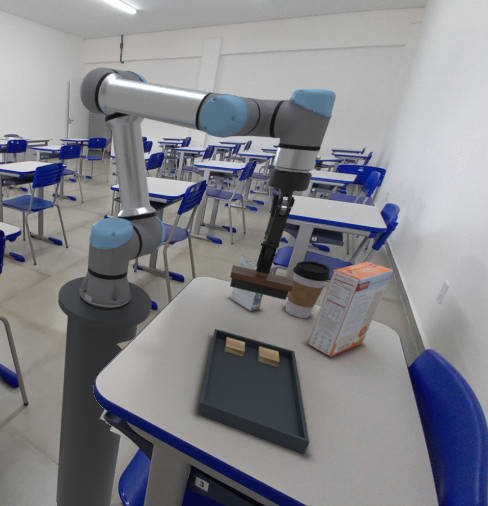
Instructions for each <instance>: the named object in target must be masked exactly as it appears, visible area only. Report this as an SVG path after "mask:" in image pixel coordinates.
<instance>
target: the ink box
mask: <svg viewBox="0 0 488 506" xmlns="http://www.w3.org/2000/svg"><path fill="white" fill-rule="evenodd" d="M257 262H258V261H255V260H254V259H251V258H249V257H247V256H245V255H243V254H242V255H241V257H240V260H239V264H238V266H239V267H244V268H249V269H253V270H256V269H257V267H256V265H257ZM250 263H252V264H253V265H252V264H250ZM254 265H255V266H254ZM263 296H264V295H263V294H259V293H255V292H251V291H247V290H242V289H238V288H234V287H232V290H231V294H230V299H231V300H232V301H233V302H235V303H237V304H238V305H240V306H241V307H243V308H245V309H246V310H248V311H249V312H252V311H258V310H260V306H261V303H262V300H263Z"/></svg>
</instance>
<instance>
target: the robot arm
mask: <svg viewBox="0 0 488 506" xmlns="http://www.w3.org/2000/svg"><path fill="white" fill-rule="evenodd" d="M336 95H337V94H336V93H335V91H333V90H330V89H320V88H319V89H318V88H308V89H307V88H305V89H301V88H300V89H299V88H298V89H295V90H294V91H293V92H292V95H291V97H290V98H289V99H281V100H280V99H279V100H278V99H259V98H252V97H243V96H238V95H235V94H229V93H218V92H211V91H205V90H199V89H193V88H184V87H180V86H172V85H166V84H159V83H153V82H148V81H147V80H146V78H145V77H144V76H142V75H141V74H139V73H137V72H134V71H131V70H121V69H114V68H109V67H96V68H92V69H91V70H90V71H88V72H87V73H86V74H85V75H84V77H83V78H82V80H81V83H80V86H79V97H80V101H81V104H82V105H83V107H85V109H86V110H88V111H89V112H91V113H94V114H98V115H103V117H104V124H105V126H106V127H108V128H109V129H110V130H111V136H112V137H111V138H112V144H113V145H112V146H113V152H114V153H113V154H114V160H115V168H116V176H117V183H118V184H117V185H118V191H119V200H120V208H121V209H120V211H119V212H118V214H117V217H112V218H110V217H107V218H102V219H100V220H97V221H95V222H94V224H93V225H92V226H91V230H90V235H89V239H88V240H89V246H88V257H87V260H88V261H87V272H86V274H85V276H84V277H85V278H84V280H83V283H82V285H81V288H80V298H81V299H82V301H83V302H85V303H86V304H88V305H90V306H92V307H95V308H99V309H108V310H112V309H119V308H122V307H125V306H126V305H128V304H129V302H130V297H131V293H130V288H129V283H128V282H129V279H128V271H129V265H130V264H129V263H130V262H131V261H133V260H135V259H138V258H141V257H144V256H148V255H151V254H152V253H154V252H155V251H157V250H159V249H160V248H161V247H162V246H163V244H164V242H165V240H166V233H167V232H166V227H165V224H164V222H163V221H162V220H161V218H160V217H158V216H157V210H156V209H155V208H154V207H153V206H152V205H151V203H150V194H149V186H148V177H147V167H146V158H145V151H144V142H143V141H144V140H143V133H142V122H143V121H144V120H145V119H146V120H151V121H155V122H160V123H165V124H168V125H173V126H177V127H182V128H187V129H191V130H195V131H201V132H203V133H206V134H207V135H209V136H213V137H215V138H221V139H222V138H230V137H231V138H232V137H258V138H259V137H260V138H272V139H279V143H278V145H277V148H276V152H275V155H274V158H273V163H272V166H273V167H274V168H273V169H271V171H270V174H269V178H268V182H267V184H268V186H269V187H271V188H273V189H278V191H277V193H274V194H273V196H272V200H271V202H272V203H271V207H270V210H269V212H270V214H269V215H270V216H269V218H268V223H267V226H266V230H265V231H264V237H263V241H262V242H261V243H260V246H261V249H260V251H259V256H258V258H257V261H256V262H257V265H255V267H257V269H256V272H261V273H265V274H269V273H270V272H271V270H272V266H273V262H274V260H275V256H276V252H277V249H279V247H280V243H281V240H282V236H283V233H284V231H285V228H286V224H287V221H288V219H289V217H290V213H291V212H292V208H293V207H294V205H295V201H296V199H295V196H293V193H294V192H305V191H307V190H308V189H309V187H310V183H311V180H312V176H313V174H312V172H311V171H314V169H315V167H316V163H317V162H316V161H320V160H321V159H322V156H321V155H319V153H320V151H321V147H322V144H323V141H324V138H325V135H326V132H327V129H328V127H329V124H330V121H331V118H332V116H333V115H332V113H333V110H334V106H335V102H336V98H337V96H336ZM266 236H267V238H266ZM265 240H266V241H265Z"/></svg>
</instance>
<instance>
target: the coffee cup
mask: <svg viewBox="0 0 488 506" xmlns="http://www.w3.org/2000/svg"><path fill="white" fill-rule="evenodd" d="M292 271H293V276H292V277H291V278H292V282H293V289H292V292H289V291H288V294H287V299H286V300H287V301H286V304H285V312H286V313H288V314H289V315H291V316H293V317H296V318H298V319H299V318H300V319H307V318H309V317H310V315H311V313H312V311H313V309H314V307H315V305H316V303H317V302H318V299H319V298H320V295H321V294H322V291H323V290H324V288H325V284H326V282H327V281H329V278H330V271H331V268H330V267H329V266H327V265H325V264H324V263H321V262H318V261H312V260H311V261H310V260H306V261H305V260H303V261H299V262H297V263H296V265H295V266H294V267H293V269H292Z"/></svg>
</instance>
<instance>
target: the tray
mask: <svg viewBox="0 0 488 506" xmlns="http://www.w3.org/2000/svg"><path fill="white" fill-rule="evenodd" d="M227 337H228V338H232V339H235V340H239V341H242V342H245V352H244V355H243V357H242V356H239V355H236V354H232V353H229V352H226V351H225V342H226V338H227ZM259 346H260V347H264V348H267V349H271V350H274V351H278V353H279V361H280V362H279V365H278V367H276V366H272V365H269V364H266V363H262V362H259V361H258V348H259ZM200 393H201V394H200V399H199V405H198V410H197V414H198V415H199V416H203V417H206V418H208V419H211V420H213V421H216V422H219V423H221V424H223V425H227V426H229V427H232V428H234V429H236V430H240V431H241V432H245V433H247V434H250V435H253V436H255V437H258V438H260V439H262V440H263V439H264V440H266V441H269V442H272V443H273V444H276V445H278V446H282V447H283V448H287V449H288V450H289V449H290V450H292V451H295V452H297V453H300V454H302V455H305V454H306V451H307V449H308V446H309V444H310V438H309V432H308V426H307V420H306V419H307V418H306V413H305V408H304V402H303V396H302V390H301V382H300V377H299V371H298V365H297V359H296V353H295V351H294V350H292V349H288V348H284V347H281V346H278V345H275V344H270V343H266V342H263V341H259V340H256V339H253V338H250V337H245V336H242V335H239V334H235V333H231V332H228V331H225V330H222V329H217V328H214V331H213V334H212V339H211V344H210V348H209V354H208V359H207V364H206V369H205V374H204V378H203V384H202V389H201V392H200Z"/></svg>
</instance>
